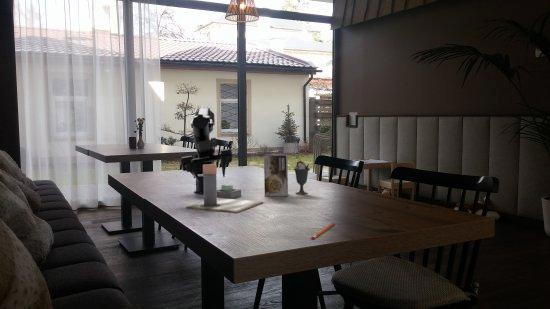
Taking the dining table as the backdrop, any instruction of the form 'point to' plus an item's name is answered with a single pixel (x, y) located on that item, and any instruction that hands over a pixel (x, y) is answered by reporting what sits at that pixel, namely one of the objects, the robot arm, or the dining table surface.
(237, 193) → the button collar
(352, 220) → the dining table surface
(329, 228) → the pencil
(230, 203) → the board
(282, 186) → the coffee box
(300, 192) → the sundae
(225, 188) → the button
